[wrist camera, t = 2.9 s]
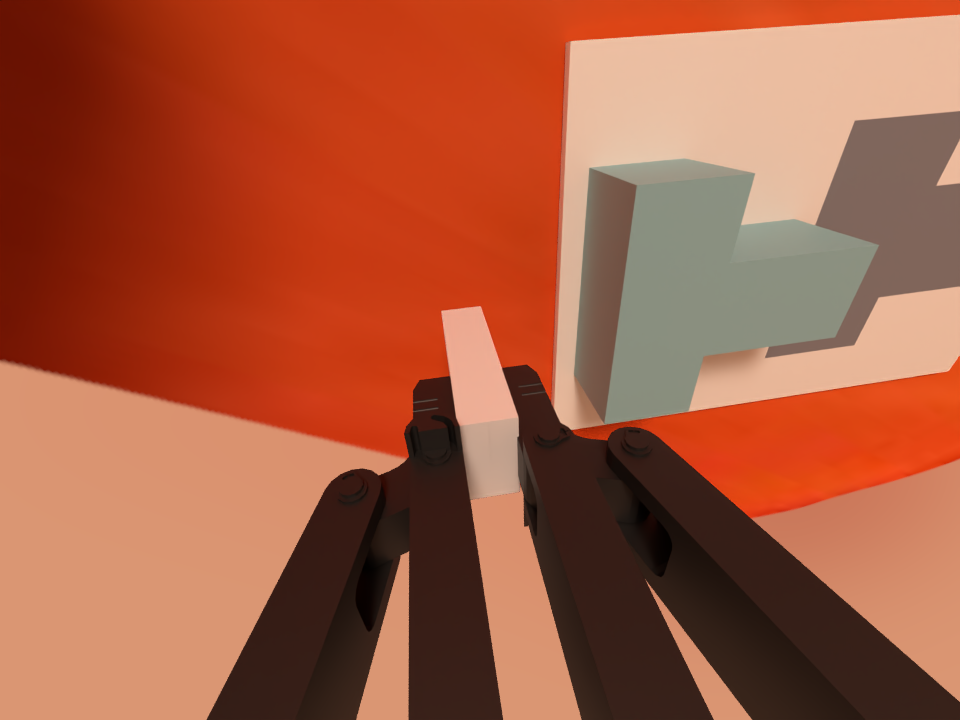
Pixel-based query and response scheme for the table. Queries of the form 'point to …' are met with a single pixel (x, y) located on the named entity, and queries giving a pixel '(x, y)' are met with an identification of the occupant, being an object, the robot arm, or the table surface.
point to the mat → (788, 180)
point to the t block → (695, 282)
